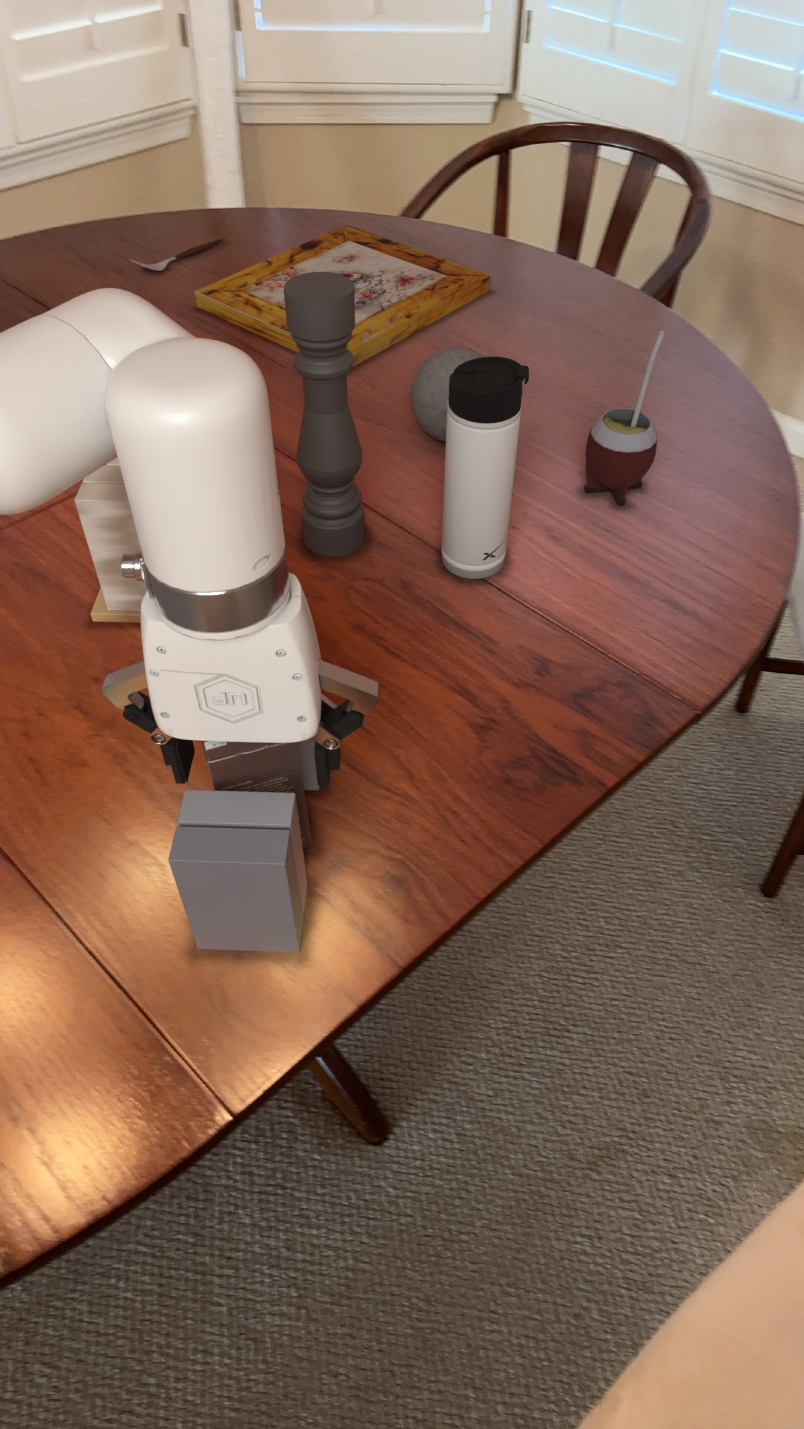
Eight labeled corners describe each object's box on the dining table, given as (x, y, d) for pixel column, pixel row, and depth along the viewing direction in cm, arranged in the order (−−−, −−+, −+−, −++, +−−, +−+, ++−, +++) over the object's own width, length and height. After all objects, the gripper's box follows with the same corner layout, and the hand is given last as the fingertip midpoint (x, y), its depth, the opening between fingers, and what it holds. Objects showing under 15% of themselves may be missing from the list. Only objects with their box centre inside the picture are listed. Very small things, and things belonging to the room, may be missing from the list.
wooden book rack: (92, 621, 86) (53, 503, 76) (136, 503, 98) (108, 388, 88) (201, 624, 86) (176, 506, 76) (232, 506, 98) (214, 390, 88)
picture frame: (490, 275, 130) (341, 355, 115) (488, 290, 132) (342, 372, 116) (346, 224, 142) (194, 291, 126) (347, 239, 143) (197, 307, 128)
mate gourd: (590, 511, 97) (615, 375, 86) (569, 468, 103) (590, 335, 91) (659, 504, 98) (693, 369, 87) (635, 462, 103) (664, 329, 92)
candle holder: (360, 515, 97) (351, 267, 78) (369, 553, 93) (362, 300, 74) (300, 521, 96) (277, 272, 77) (306, 560, 92) (283, 306, 73)
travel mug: (504, 584, 90) (526, 390, 75) (436, 576, 90) (443, 382, 75) (511, 544, 94) (532, 352, 79) (445, 536, 94) (454, 345, 80)
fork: (229, 245, 142) (227, 231, 140) (142, 278, 134) (139, 264, 132) (218, 240, 143) (216, 226, 141) (131, 272, 135) (128, 258, 134)
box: (297, 801, 72) (283, 694, 63) (313, 847, 70) (300, 742, 61) (220, 822, 71) (194, 715, 62) (233, 870, 68) (208, 766, 59)
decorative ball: (395, 447, 105) (395, 363, 98) (431, 405, 111) (434, 322, 104) (477, 469, 102) (484, 384, 95) (511, 425, 108) (519, 341, 101)
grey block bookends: (197, 949, 64) (167, 860, 56) (239, 736, 77) (220, 638, 69) (299, 953, 64) (285, 864, 56) (325, 738, 77) (316, 640, 68)
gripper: (44, 617, 49) (117, 810, 62) (373, 625, 49) (378, 818, 62) (81, 529, 54) (142, 725, 67) (380, 536, 54) (384, 731, 67)
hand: (255, 769), depth 64 cm, fingers open, 9 cm apart
